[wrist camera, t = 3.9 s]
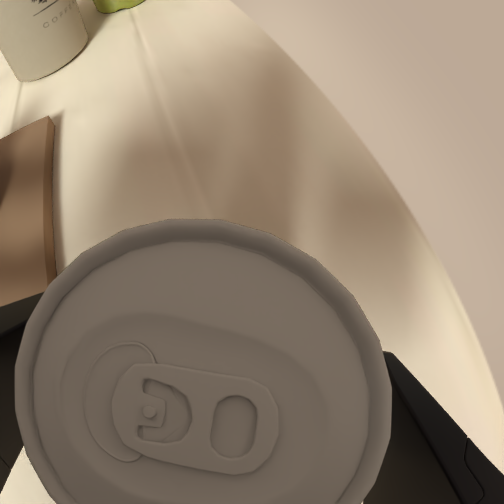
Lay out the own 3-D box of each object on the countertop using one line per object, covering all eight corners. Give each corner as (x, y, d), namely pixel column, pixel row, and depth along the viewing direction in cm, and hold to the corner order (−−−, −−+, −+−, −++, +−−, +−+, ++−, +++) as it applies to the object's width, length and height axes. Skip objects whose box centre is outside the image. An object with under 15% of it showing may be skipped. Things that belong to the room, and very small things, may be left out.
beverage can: (185, 316, 15) (52, 188, 4) (285, 332, 15) (414, 239, 4) (169, 413, 14) (6, 512, 2) (271, 430, 13) (356, 588, 2)
